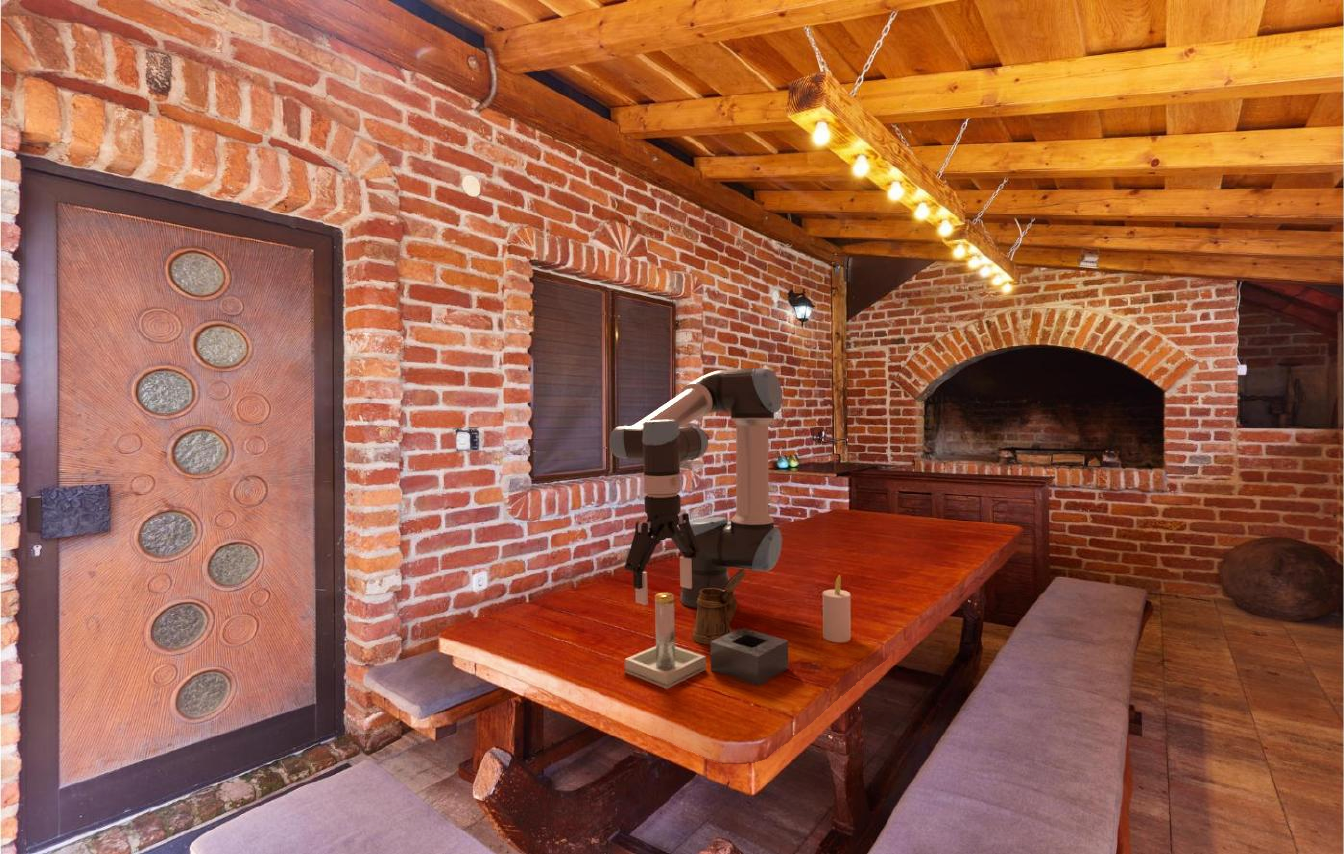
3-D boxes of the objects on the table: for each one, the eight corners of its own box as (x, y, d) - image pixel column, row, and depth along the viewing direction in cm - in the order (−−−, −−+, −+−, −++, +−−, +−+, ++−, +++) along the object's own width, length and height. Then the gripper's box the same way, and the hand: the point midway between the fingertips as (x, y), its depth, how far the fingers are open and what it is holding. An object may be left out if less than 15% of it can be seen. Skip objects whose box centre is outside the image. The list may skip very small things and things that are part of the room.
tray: (625, 672, 135) (624, 659, 135) (664, 654, 144) (663, 642, 144) (666, 688, 127) (666, 674, 127) (705, 669, 136) (705, 656, 136)
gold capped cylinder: (652, 667, 135) (651, 595, 135) (665, 661, 138) (664, 591, 138) (666, 672, 133) (665, 599, 132) (679, 666, 136) (678, 595, 135)
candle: (826, 630, 157) (825, 569, 156) (853, 634, 154) (852, 572, 153) (819, 639, 151) (818, 576, 151) (847, 643, 148) (846, 579, 148)
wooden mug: (733, 652, 145) (732, 573, 144) (685, 639, 153) (684, 564, 152) (754, 640, 151) (753, 564, 151) (707, 628, 160) (706, 556, 159)
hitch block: (710, 669, 136) (710, 641, 135) (742, 654, 144) (741, 627, 143) (758, 686, 127) (757, 656, 127) (788, 668, 135) (788, 640, 135)
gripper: (631, 504, 122) (634, 614, 123) (714, 488, 140) (716, 584, 142) (605, 501, 127) (608, 606, 128) (688, 485, 146) (690, 578, 147)
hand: (664, 595), depth 135 cm, fingers open, 13 cm apart
